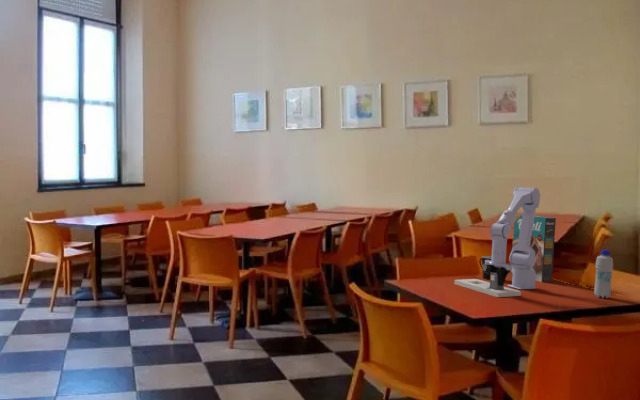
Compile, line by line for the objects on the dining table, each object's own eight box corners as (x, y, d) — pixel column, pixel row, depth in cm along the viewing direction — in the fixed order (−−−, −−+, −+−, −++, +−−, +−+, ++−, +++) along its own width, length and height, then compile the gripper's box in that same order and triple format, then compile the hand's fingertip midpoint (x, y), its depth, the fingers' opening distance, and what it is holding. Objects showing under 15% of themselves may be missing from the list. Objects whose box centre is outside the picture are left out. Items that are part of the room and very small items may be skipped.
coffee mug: (501, 280, 286) (502, 259, 286) (483, 279, 286) (484, 258, 286) (494, 276, 298) (496, 255, 297) (476, 275, 298) (478, 254, 297)
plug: (497, 289, 259) (498, 271, 259) (503, 291, 255) (504, 273, 255) (488, 289, 257) (489, 272, 257) (495, 291, 253) (496, 273, 253)
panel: (476, 282, 278) (476, 278, 277) (520, 295, 252) (520, 290, 252) (454, 283, 272) (454, 279, 272) (497, 297, 247) (497, 292, 247)
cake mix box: (510, 273, 308) (514, 213, 306) (520, 273, 310) (524, 214, 309) (541, 281, 288) (545, 218, 286) (551, 281, 290) (555, 218, 288)
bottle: (609, 296, 259) (613, 249, 258) (611, 299, 252) (615, 251, 251) (592, 294, 261) (595, 248, 260) (594, 297, 255) (597, 249, 253)
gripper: (479, 249, 260) (478, 281, 261) (503, 254, 247) (501, 288, 248) (493, 249, 263) (491, 281, 264) (517, 254, 250) (515, 287, 251)
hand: (497, 284), depth 256 cm, fingers closed on plug, 4 cm apart
